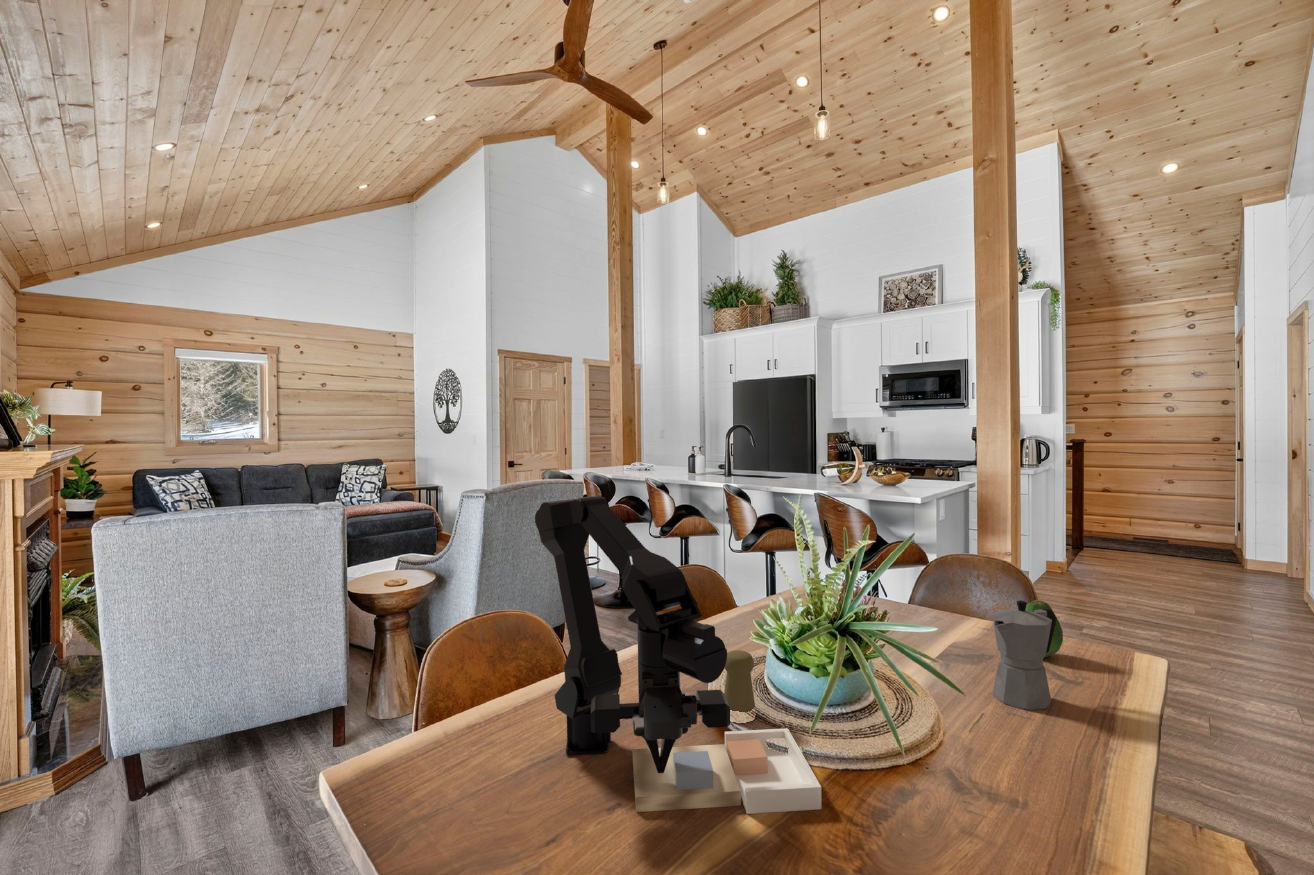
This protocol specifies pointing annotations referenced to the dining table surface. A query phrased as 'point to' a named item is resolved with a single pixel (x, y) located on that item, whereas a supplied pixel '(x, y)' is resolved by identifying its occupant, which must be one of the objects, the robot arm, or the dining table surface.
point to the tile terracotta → (747, 757)
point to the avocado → (1058, 630)
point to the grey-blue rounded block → (692, 770)
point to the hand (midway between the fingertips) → (660, 771)
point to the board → (662, 794)
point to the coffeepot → (1023, 656)
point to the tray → (778, 777)
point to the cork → (739, 681)
